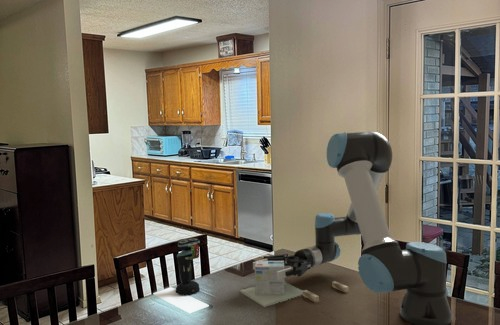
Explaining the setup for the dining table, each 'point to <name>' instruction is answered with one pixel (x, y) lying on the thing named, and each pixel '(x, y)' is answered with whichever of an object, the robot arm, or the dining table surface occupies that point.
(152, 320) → the dining table surface
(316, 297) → the beige rectangular blocks
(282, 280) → the light bulb box
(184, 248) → the cordless drill
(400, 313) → the robot arm
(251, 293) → the mat
